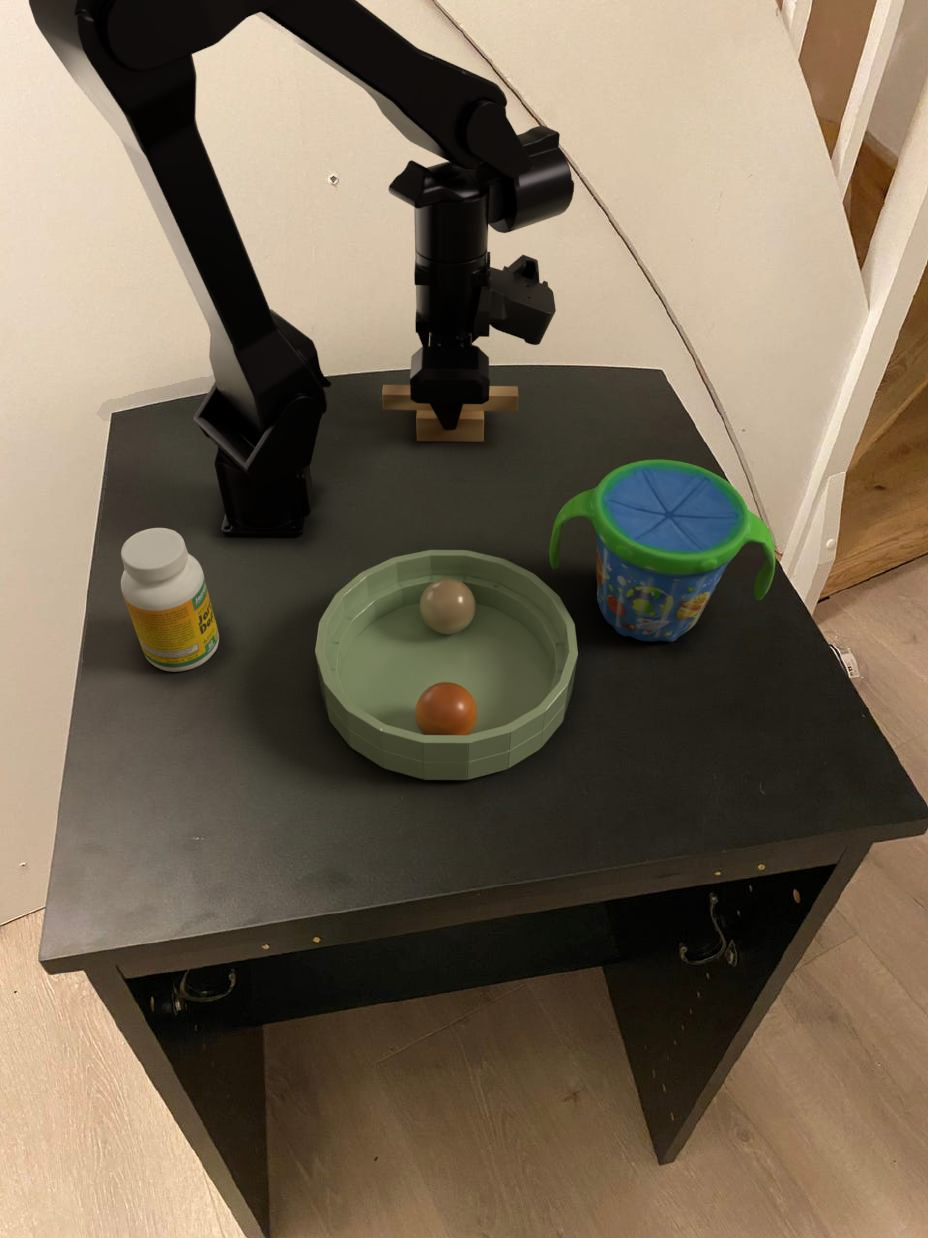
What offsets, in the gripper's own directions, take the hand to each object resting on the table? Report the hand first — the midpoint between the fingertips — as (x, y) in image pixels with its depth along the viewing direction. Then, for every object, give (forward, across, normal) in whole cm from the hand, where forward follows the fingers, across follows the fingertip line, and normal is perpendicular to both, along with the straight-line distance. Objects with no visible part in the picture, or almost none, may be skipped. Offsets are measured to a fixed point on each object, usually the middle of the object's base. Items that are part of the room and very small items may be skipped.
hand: (450, 415), depth 85 cm
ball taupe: (-1, -25, 0) cm, 25 cm away
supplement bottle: (+2, -27, +19) cm, 33 cm away
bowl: (+2, -30, 0) cm, 30 cm away
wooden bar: (-1, 0, 0) cm, 1 cm away
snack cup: (+2, -23, -15) cm, 28 cm away
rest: (+2, 0, 0) cm, 2 cm away
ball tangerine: (-1, -35, 0) cm, 35 cm away
